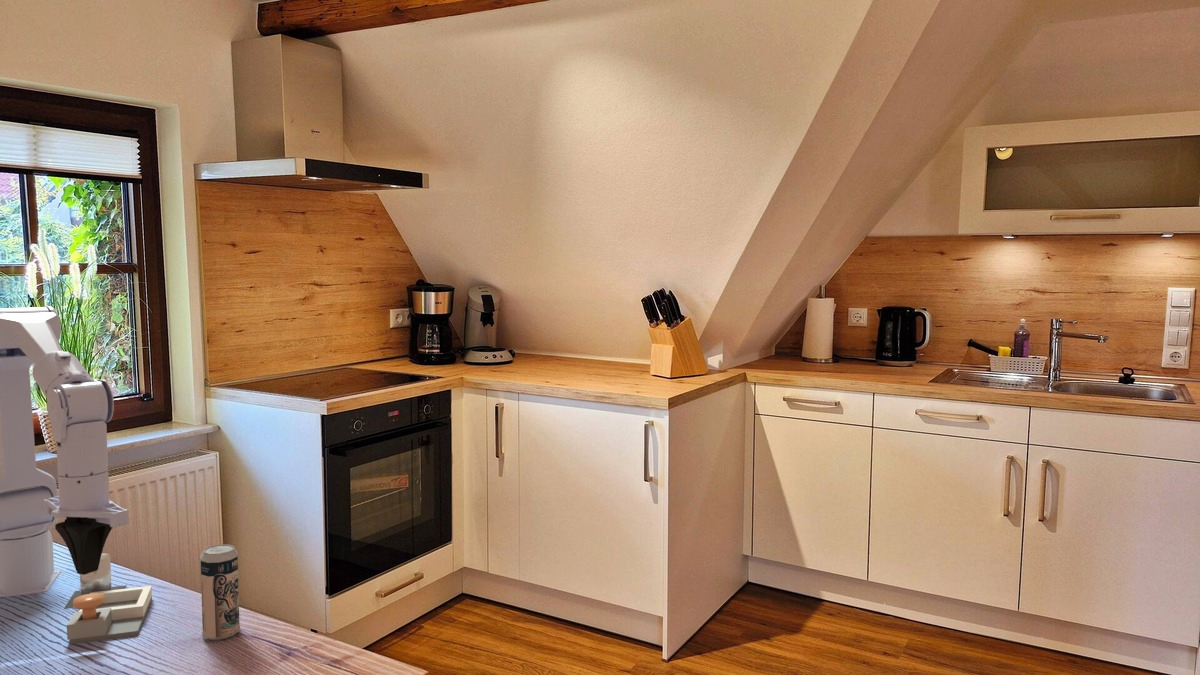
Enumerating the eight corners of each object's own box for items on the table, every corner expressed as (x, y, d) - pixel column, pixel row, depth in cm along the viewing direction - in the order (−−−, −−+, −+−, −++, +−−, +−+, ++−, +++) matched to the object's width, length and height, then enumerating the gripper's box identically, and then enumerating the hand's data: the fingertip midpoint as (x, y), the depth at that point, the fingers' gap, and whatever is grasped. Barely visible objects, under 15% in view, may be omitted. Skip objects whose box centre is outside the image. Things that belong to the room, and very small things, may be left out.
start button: (77, 617, 114) (76, 595, 114) (107, 614, 115) (106, 591, 115) (71, 628, 111) (70, 605, 110) (102, 624, 112) (101, 601, 112)
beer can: (225, 643, 112) (223, 556, 111) (194, 640, 113) (191, 553, 112) (247, 628, 116) (245, 544, 115) (217, 625, 117) (214, 542, 116)
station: (89, 609, 122) (88, 589, 122) (152, 601, 125) (151, 582, 125) (67, 647, 110) (66, 625, 110) (137, 638, 113) (137, 616, 113)
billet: (84, 593, 127) (82, 554, 127) (114, 589, 129) (112, 551, 128) (78, 603, 124) (76, 563, 123) (108, 599, 125) (107, 560, 124)
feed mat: (75, 593, 128) (75, 590, 128) (126, 587, 131) (126, 585, 131) (63, 611, 122) (63, 608, 122) (118, 604, 124) (118, 602, 124)
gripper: (17, 472, 111) (22, 572, 112) (90, 485, 105) (94, 590, 106) (70, 461, 117) (74, 556, 118) (141, 473, 111) (145, 572, 112)
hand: (87, 571), depth 112 cm, fingers closed
